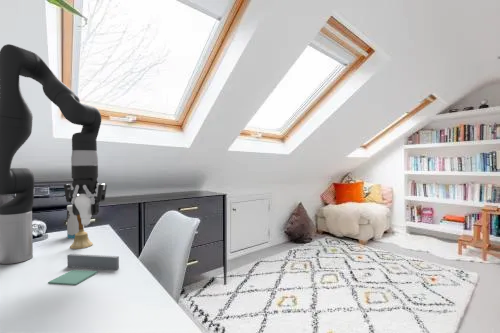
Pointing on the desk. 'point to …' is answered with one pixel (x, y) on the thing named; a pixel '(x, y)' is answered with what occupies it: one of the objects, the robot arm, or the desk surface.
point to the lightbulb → (84, 208)
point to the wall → (93, 261)
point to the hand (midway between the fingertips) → (85, 214)
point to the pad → (73, 277)
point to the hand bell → (81, 237)
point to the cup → (72, 223)
